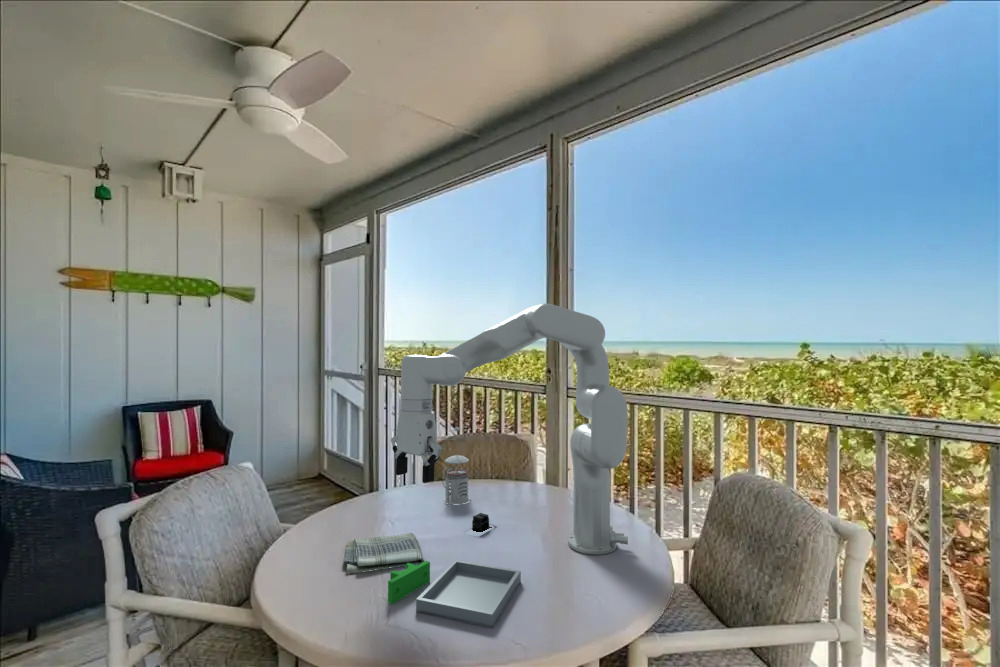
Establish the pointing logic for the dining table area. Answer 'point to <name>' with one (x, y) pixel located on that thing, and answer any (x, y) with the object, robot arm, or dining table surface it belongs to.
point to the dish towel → (382, 553)
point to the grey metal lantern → (456, 481)
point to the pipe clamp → (407, 580)
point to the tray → (470, 593)
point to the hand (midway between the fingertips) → (414, 477)
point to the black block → (480, 522)
